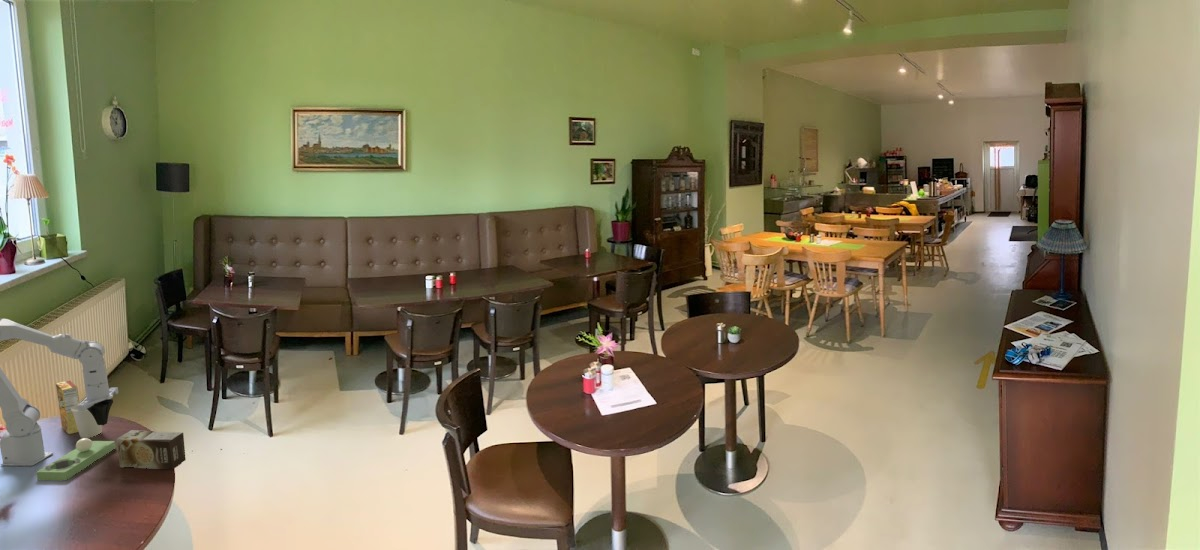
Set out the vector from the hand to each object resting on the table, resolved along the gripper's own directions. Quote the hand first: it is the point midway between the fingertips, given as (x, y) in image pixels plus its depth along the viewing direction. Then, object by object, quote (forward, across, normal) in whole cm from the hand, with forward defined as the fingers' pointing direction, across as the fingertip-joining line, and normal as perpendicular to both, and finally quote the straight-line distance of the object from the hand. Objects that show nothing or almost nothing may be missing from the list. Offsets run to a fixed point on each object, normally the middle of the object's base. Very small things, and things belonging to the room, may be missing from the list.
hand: (102, 424), depth 210 cm
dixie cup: (+8, +9, +11) cm, 16 cm away
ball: (+3, -8, 0) cm, 9 cm away
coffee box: (+3, -10, -14) cm, 17 cm away
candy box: (+8, +13, +20) cm, 25 cm away
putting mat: (+8, -11, 0) cm, 13 cm away
